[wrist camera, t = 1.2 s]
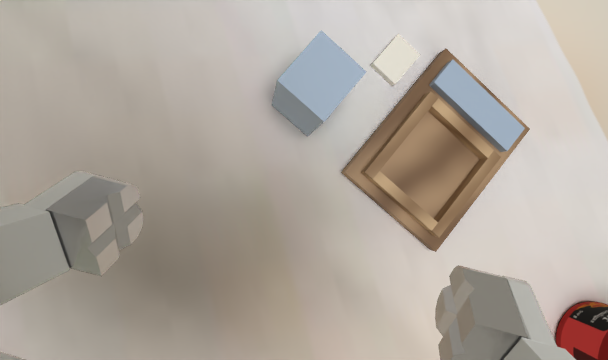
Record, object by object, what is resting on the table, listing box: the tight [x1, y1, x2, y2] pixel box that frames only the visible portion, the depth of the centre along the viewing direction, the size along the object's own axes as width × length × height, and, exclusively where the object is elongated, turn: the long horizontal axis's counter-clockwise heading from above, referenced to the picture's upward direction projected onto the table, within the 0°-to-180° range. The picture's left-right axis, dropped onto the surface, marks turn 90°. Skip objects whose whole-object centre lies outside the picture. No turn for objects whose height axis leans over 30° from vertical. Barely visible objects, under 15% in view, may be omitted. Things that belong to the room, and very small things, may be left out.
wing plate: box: [429, 59, 525, 152], centre depth 34 cm, size 10×3×1 cm, turn 50°
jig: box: [341, 49, 529, 252], centre depth 34 cm, size 12×16×2 cm
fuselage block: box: [272, 31, 366, 136], centre depth 29 cm, size 4×5×8 cm
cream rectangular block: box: [371, 34, 420, 86], centre depth 34 cm, size 3×4×1 cm
